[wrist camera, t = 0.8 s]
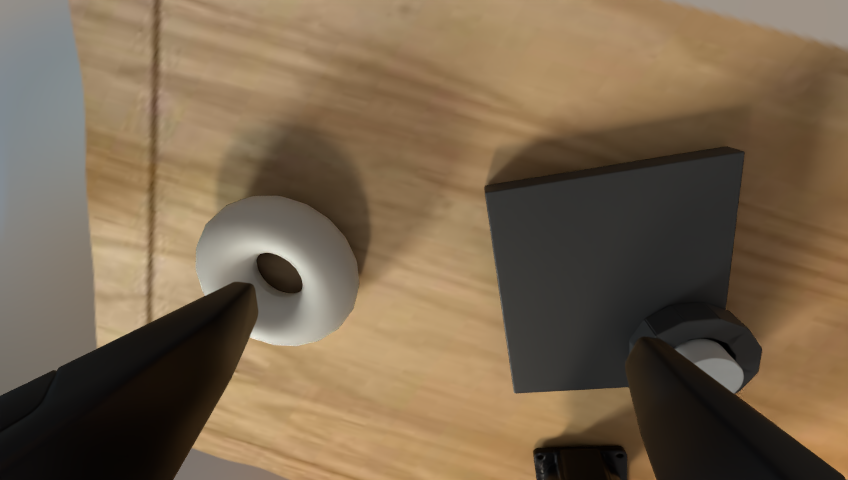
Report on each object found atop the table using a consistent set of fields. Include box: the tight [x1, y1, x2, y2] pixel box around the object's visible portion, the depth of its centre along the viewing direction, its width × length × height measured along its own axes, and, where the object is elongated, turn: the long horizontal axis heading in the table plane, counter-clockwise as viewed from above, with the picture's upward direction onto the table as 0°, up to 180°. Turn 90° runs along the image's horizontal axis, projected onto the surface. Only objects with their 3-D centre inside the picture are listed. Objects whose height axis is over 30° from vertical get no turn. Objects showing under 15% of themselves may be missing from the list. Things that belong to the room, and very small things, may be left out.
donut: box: [196, 196, 359, 346], centre depth 23 cm, size 10×4×10 cm
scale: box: [484, 147, 762, 394], centre depth 21 cm, size 14×13×3 cm
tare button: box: [674, 339, 744, 393], centre depth 20 cm, size 3×3×2 cm
